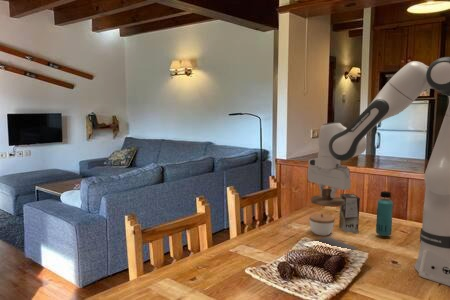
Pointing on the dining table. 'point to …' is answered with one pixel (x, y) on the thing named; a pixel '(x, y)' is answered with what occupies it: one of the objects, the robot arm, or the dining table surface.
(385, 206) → the beverage bottle
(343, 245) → the mat
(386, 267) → the dining table surface
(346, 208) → the coffee box
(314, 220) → the lidded jar
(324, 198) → the lid
